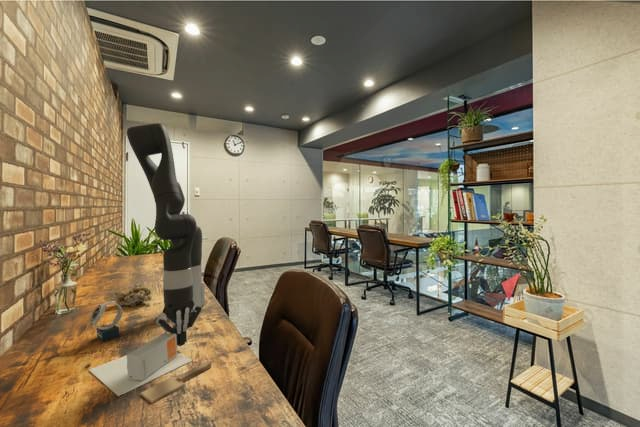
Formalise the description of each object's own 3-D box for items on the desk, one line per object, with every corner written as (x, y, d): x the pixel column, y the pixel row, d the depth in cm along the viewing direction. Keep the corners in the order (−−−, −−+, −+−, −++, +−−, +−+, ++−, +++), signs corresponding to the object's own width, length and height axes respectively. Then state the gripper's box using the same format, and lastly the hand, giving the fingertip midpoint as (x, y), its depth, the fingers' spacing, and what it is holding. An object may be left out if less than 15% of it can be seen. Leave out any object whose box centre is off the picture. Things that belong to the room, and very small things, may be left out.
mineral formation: (144, 297, 132) (161, 300, 124) (111, 310, 121) (128, 315, 113) (140, 280, 131) (157, 282, 123) (106, 292, 120) (123, 296, 112)
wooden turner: (203, 362, 74) (203, 359, 74) (215, 368, 71) (215, 364, 71) (141, 395, 62) (140, 391, 62) (152, 404, 59) (151, 399, 59)
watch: (89, 340, 89) (87, 305, 89) (119, 331, 95) (118, 298, 95) (94, 345, 86) (93, 308, 85) (125, 335, 92) (124, 301, 92)
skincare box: (178, 355, 78) (142, 381, 66) (164, 354, 79) (127, 380, 67) (177, 333, 78) (140, 355, 66) (163, 332, 79) (125, 354, 67)
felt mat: (158, 343, 86) (158, 342, 86) (192, 360, 76) (192, 360, 76) (88, 370, 72) (88, 369, 72) (118, 396, 62) (118, 395, 62)
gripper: (192, 277, 89) (194, 333, 89) (147, 288, 78) (149, 351, 79) (207, 280, 85) (209, 339, 85) (161, 292, 74) (163, 358, 74)
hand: (180, 344), depth 82 cm, fingers closed
